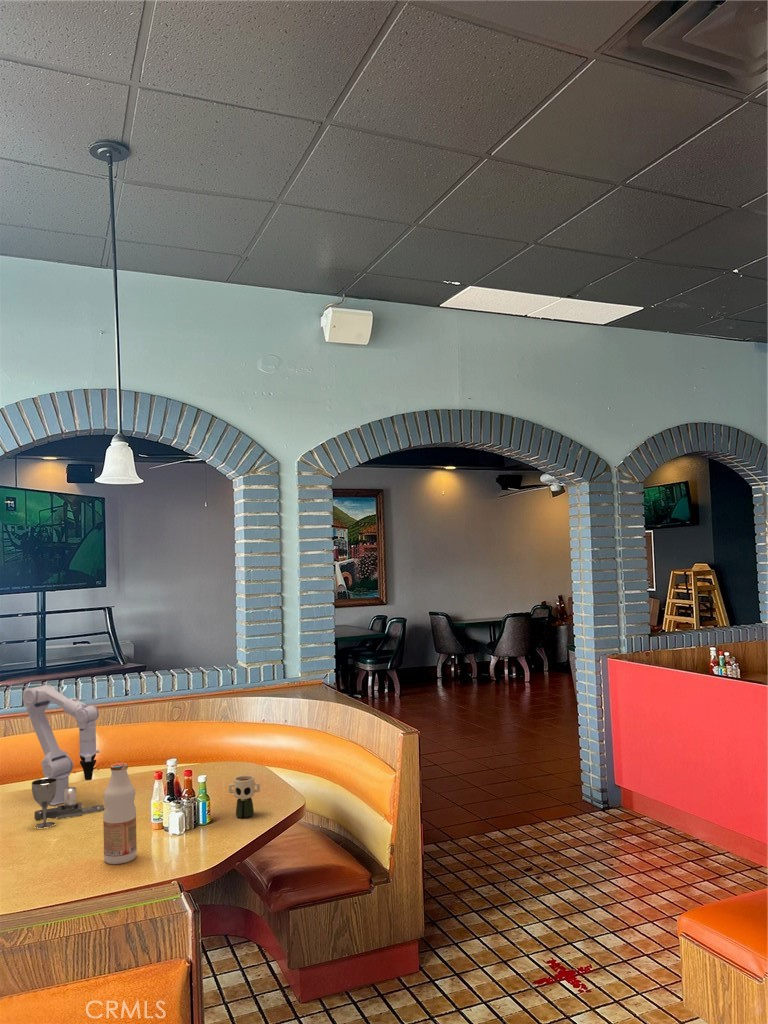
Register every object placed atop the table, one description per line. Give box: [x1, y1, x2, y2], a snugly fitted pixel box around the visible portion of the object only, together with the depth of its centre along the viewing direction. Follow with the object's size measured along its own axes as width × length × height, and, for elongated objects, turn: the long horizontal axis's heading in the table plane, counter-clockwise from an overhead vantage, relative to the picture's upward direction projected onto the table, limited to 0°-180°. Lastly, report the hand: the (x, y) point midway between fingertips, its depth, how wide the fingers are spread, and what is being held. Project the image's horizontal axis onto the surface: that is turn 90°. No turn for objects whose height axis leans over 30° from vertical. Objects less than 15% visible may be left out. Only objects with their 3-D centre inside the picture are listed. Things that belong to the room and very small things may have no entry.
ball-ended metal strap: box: [33, 802, 105, 821], centre depth 277 cm, size 23×8×2 cm, turn 112°
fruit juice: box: [102, 762, 138, 865], centre depth 235 cm, size 9×9×28 cm
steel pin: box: [63, 786, 78, 810], centre depth 277 cm, size 4×4×9 cm
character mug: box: [228, 774, 261, 818], centre depth 269 cm, size 11×7×13 cm, turn 90°
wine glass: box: [31, 777, 57, 828], centre depth 266 cm, size 8×8×15 cm
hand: (88, 777), depth 286 cm, fingers open, 7 cm apart
